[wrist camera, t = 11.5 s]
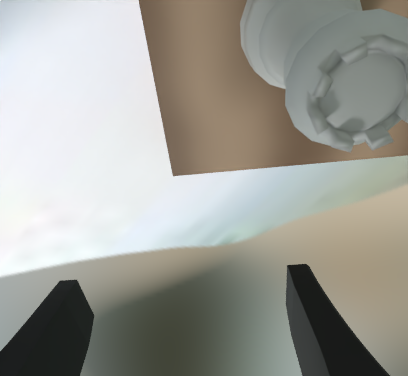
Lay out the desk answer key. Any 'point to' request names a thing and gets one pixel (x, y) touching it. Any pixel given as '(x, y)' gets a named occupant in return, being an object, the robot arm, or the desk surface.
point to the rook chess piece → (332, 66)
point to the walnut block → (231, 94)
